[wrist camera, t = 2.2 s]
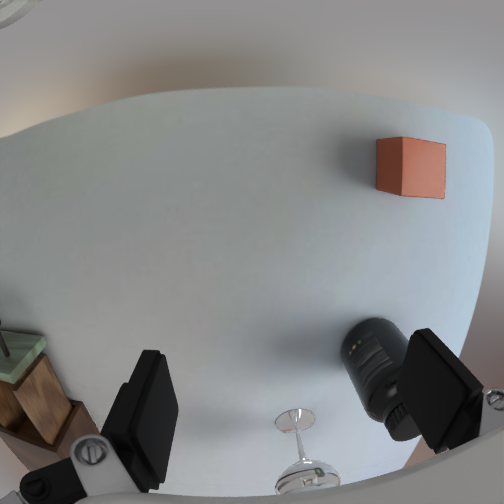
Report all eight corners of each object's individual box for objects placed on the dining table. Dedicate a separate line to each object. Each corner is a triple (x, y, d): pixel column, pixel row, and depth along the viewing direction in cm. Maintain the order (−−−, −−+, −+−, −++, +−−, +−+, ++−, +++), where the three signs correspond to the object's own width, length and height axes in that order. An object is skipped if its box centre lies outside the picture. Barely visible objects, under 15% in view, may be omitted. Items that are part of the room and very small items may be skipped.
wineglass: (332, 412, 31) (358, 489, 20) (299, 441, 33) (314, 514, 22) (289, 397, 30) (307, 485, 19) (257, 429, 32) (263, 509, 20)
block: (376, 139, 22) (402, 136, 18) (417, 145, 23) (446, 144, 18) (376, 189, 24) (401, 196, 19) (416, 192, 24) (444, 199, 20)
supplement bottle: (340, 375, 30) (375, 458, 18) (337, 326, 28) (384, 412, 16) (394, 358, 29) (443, 430, 18) (398, 309, 27) (461, 378, 16)
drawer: (-22, 294, 24) (-59, 320, 17) (30, 296, 25) (-12, 330, 17) (30, 407, 30) (9, 440, 23) (85, 421, 30) (67, 461, 23)
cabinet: (21, 388, 30) (-7, 427, 21) (82, 402, 30) (56, 453, 21) (62, 449, 35) (45, 486, 25) (120, 463, 35) (107, 507, 26)
